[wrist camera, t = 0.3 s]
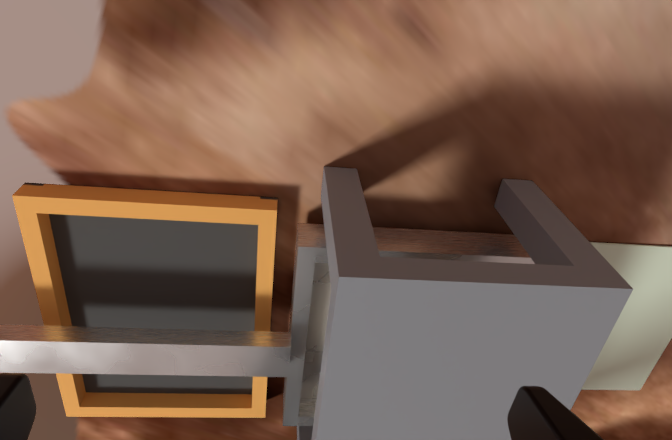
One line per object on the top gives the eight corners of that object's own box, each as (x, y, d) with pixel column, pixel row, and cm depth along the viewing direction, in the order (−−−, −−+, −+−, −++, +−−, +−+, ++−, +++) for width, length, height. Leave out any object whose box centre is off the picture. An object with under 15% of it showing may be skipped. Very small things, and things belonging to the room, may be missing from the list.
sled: (477, 398, 31) (522, 513, 25) (-125, 392, 27) (-245, 527, 21) (538, 235, 25) (617, 335, 19) (-227, 194, 21) (-437, 305, 15)
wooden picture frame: (265, 400, 30) (265, 417, 29) (74, 398, 29) (66, 416, 28) (277, 197, 23) (277, 210, 22) (25, 182, 22) (12, 195, 21)
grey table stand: (450, 420, 33) (493, 557, 26) (296, 419, 31) (298, 563, 24) (532, 180, 24) (633, 289, 17) (323, 166, 23) (338, 277, 16)
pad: (639, 389, 32) (639, 390, 32) (477, 386, 31) (477, 387, 31) (723, 248, 27) (725, 250, 27) (531, 238, 26) (532, 239, 25)
